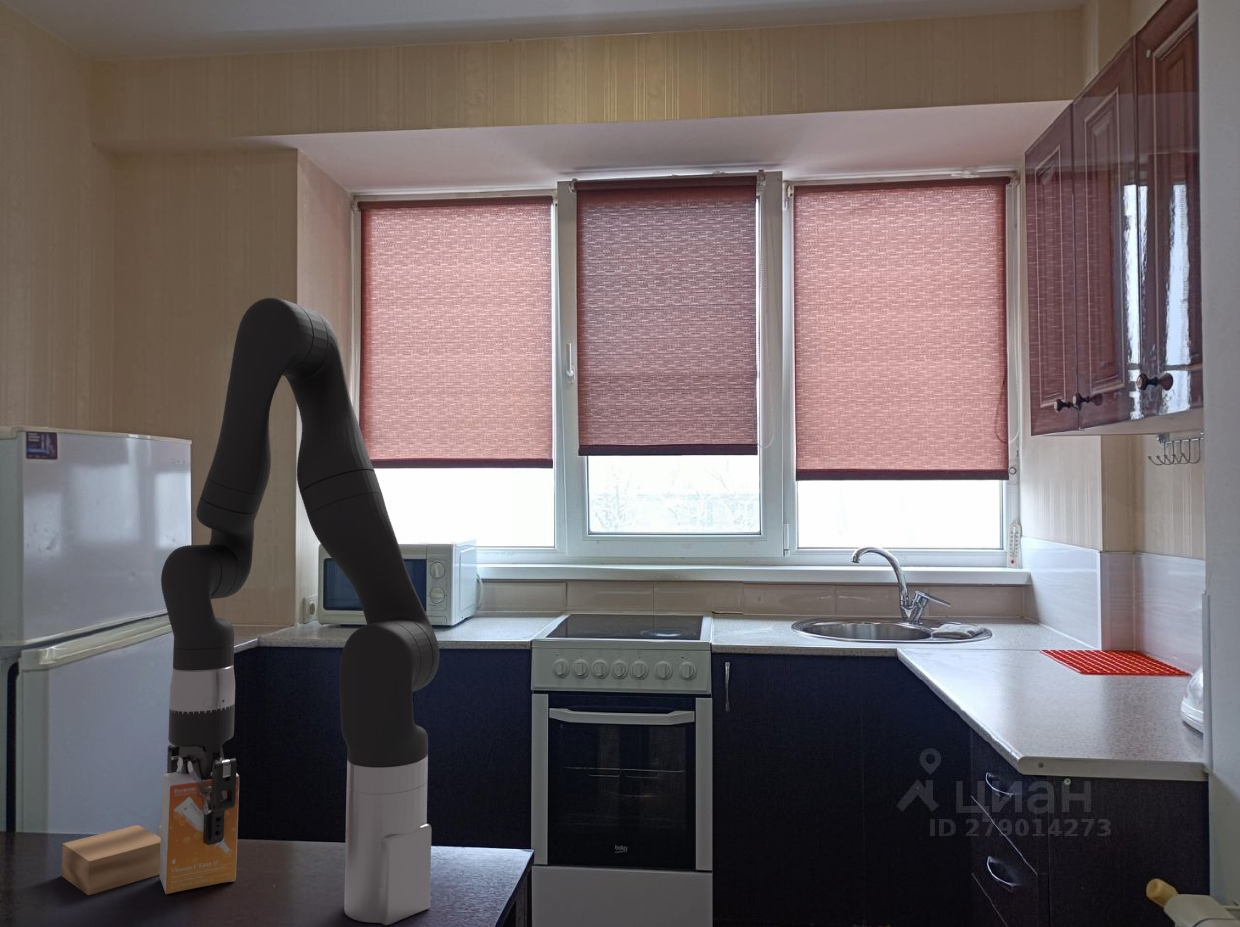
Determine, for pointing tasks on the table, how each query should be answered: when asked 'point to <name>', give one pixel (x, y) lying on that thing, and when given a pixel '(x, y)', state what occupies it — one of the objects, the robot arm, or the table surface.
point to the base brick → (111, 859)
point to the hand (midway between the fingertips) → (198, 835)
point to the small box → (193, 838)
